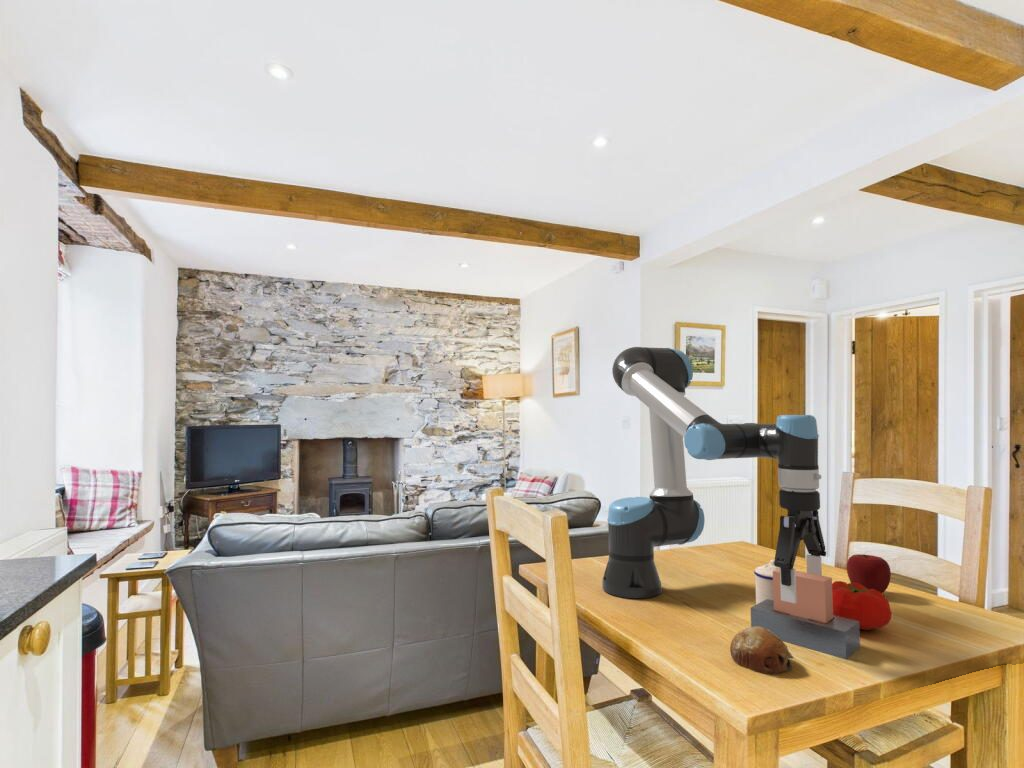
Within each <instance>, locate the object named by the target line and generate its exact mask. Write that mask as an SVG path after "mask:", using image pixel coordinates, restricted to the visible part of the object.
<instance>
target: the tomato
mask: <svg viewBox="0 0 1024 768" xmlns="http://www.w3.org/2000/svg"><path fill="white" fill-rule="evenodd" d="M832 597H833V615H835V616H839V617H844V618H848V619H852V620H856V621H859V630H863V631H868V630H875V629H879V628H882V627H885V626H887V625H888V624H889V623H890V621H891V620H892V610H891V606H890V603H889V600H888V599H887V598H886V596H885V595H884V593H881V592H879V591H876V590H874V589H869V590H868V589H867V588H866V587H864V586H863V585H861V584H859V583H856V582H852V583H851V582H846V581H842V580H835V581H834V582H832Z"/></svg>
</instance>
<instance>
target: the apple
mask: <svg viewBox="0 0 1024 768" xmlns="http://www.w3.org/2000/svg"><path fill="white" fill-rule="evenodd" d="M846 562H847V563H846V574H847V576H848V579H849V583H852V582H856V583H859V584H861V585H863V586H864V587H866V588H867V589H868V590H869V589H874V590H876V591H879V592H881V593H882V594H884V593H885V592H886V590H887V589H888V587H889V585H890V583H891V578H892V576H891V575H892V574H891V567H890V565H889V563H888V562H887V561H886V560H885V559H884V558H883V557H880V556H876V555H870V554H865V553H863V554H861V553H860V554H853V555H851V556H849V557H848V559H847V561H846Z"/></svg>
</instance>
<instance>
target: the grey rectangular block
mask: <svg viewBox="0 0 1024 768" xmlns="http://www.w3.org/2000/svg"><path fill="white" fill-rule="evenodd" d="M756 626H758V627H763V628H765V629H768V630H770V631H771V632H773V633H774V634H775V635H776V636H777V637H779V638H780V639H781V640H782V641H783V642H784V643H785V642H786V643H789V644H792V645H796V646H799V647H803V648H807V649H809V650H813V651H815V652H816V651H817V652H820V653H823V654H827V655H830V656H834V657H837V658H840V659H844V660H847V659H848V658H850V657H851V656H852V655H853V654H854V653H855V652H857V651H858V650H859V649H860V648H861V639H860V638H861V636H860V635H861V634H860V629H859V621H856V620H852V619H848V618H844V617H839V616H835V615H833V619H832V620H830V621H829V623H827V624H823V623H819V622H815V621H814V620H811V619H807V618H803V617H799V616H795V615H791V614H789V615H788V614H784V613H780V612H778V611H775V610H774V601H773V600H769V599H766V600H764V601H762V602H760V603H758V604H757V605H756V604H755V605H753V606H750V627H756Z"/></svg>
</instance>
